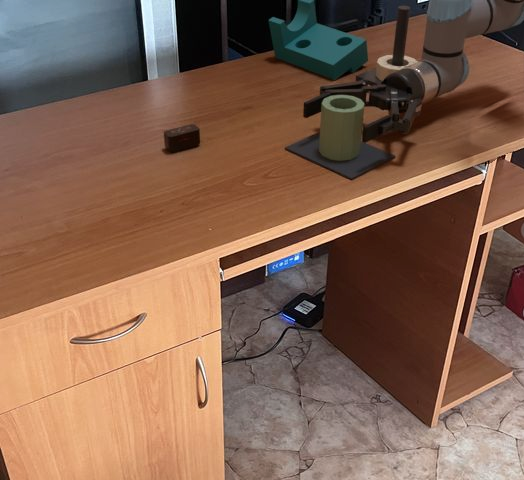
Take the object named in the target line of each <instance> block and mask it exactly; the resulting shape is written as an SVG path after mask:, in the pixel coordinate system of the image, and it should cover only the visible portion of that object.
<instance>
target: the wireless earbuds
mask: <svg viewBox="0 0 524 480" xmlns="http://www.w3.org/2000/svg"><path fill="white" fill-rule="evenodd" d="M163 141H164V143H163V144H164V148H165V149H166V150H167V151H168V152H170V153H175V152H176V153H177V152H179V151H182V150H186V149H187V150H188V149H191V148H194V147H198V146H200V145H201V129H200V127H198V125H196V124H195V123H191V124H187V125H182V126H179V127H175V128H174V127H173V128H171V129H166V130H163Z"/></svg>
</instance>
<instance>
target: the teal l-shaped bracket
mask: <svg viewBox="0 0 524 480" xmlns="http://www.w3.org/2000/svg"><path fill="white" fill-rule="evenodd" d="M268 25H269V31H270V37H271V42H272V47H273V48H272V49H273V52H274V57H275V58H276V59H278V60H281V61H284V62H285V63H289V64H291V65H294V66H296V67H299V68H301V69H304V70H307V71H309V72H313V73H315V74H317V75H320V76H323V77H325V78H328V79H330V80H333V81H336V80H337V79H339V78H340V77H342V75H344V74H346V73H350V74H353V73H355V72H356V71H357V70H359V69H360V68H361V67H362V66H364V65H365V64H366V63H368V62H369V54H368V42H367V39H365V38H362V37H359V36H356V35H354V34H351V33H348V32H344V31H341V30H338V29H335V28H332V27H330V26H327V25H323V24H320V23H318V20H317V13H316V4H315V0H297V9H296V13H295V15H294V17H293V19H292V20H291V22H290V23H289V24H288V25H287V24H286V21H285V20H284V19H280V18H277V17H275V16H272V17H271V18H269V19H268Z"/></svg>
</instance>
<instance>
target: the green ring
mask: <svg viewBox="0 0 524 480" xmlns="http://www.w3.org/2000/svg"><path fill="white" fill-rule="evenodd" d="M364 105H365V104H364V102H363V101H362V100H361V99H359V98H356V97H354V96H348V95H334V96H329V97H327V98H325V99H324V100H323V102H322V107H321V112H320V125H319V132H320V141H319V152H320V153H321V155H322V156H324V157H326V158H328V159H331V160H338V161H343V160H351V159H353V158H355V157H357V156H358V155H359V153H360V147H361V141H362V135H363V126H364V113H365V107H364Z"/></svg>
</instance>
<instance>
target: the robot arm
mask: <svg viewBox="0 0 524 480" xmlns="http://www.w3.org/2000/svg"><path fill="white" fill-rule="evenodd" d="M522 22H524V0H429V1H428V7H427V10H426V22H425V30H424V39H423V46H422V52H421V60H419V61H417V63H414V64H412V65H409V66H407V67H404V68H402V69H400V70H398V71H396V72H393V73H391V74H389V75H388V76H386V77H385V79H384V80H383V81H382V83H381V84H378V85H374V86H370V85H368V80H366V79H363V80H360V81H357V80H356V81H351V82H343V83H335V84H328V85H321V86H319V95H317V96H314V97H312V98H310V99H309V100H306V101H304V102H303V109H302V110H303V111H302V117H303V118H304V119H308V118H310V117H313V116H315V115H317V114H319V113H320V114H321V107H322V102H323V100H324V99H325V98H327V97H329V96H334V95H348V96H354V97H356V98H359V99H361V100H362V101H363V102H364V104H365V105H364V108H366V107H367V108H370V107H372V108H373V107H374V108H377V109H379V110H381V111H388V115H385V116H383V117H380V118H378V119H376V120H374V121H372V122H370V123H367V124H365V125H363V126H362V136H361V141H362V142H364V143H368V142H370V141H372V140H374V139H377V138H378V137H380V136H384V135H387V134H389V133H391V132H394V133H395V132H398V131H401V134H403V135H407V134H409V133H410V130H411V128H412V125H413V124H414V122H415V118H416V117H418V116H419V115H421V114H422V113H421V111H422V105H424V104H425V103H427V102H430V101H432V100H434V99H437V98H438V97H441V96H442V95H443V96H444V95H445V94H448V93H451V92H453V91H455V89H457V88H459V87H460V86H461V85H463V84H464V83H465V82H466V81H467V79H468V77H469V75H470V65H469V58H468V56H467V55H466V54H465V53H464V47H465V41H466V40H467V39H471V38H474V37H478V36H482V35H487V34H490V33H496V32H499V31H505V30H509V29H510V28H512V27H516V26H518V25H520V24H522ZM367 94H368V100H367ZM401 114H404V115H403V117H402V119H401V118H400V115H401Z"/></svg>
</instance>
